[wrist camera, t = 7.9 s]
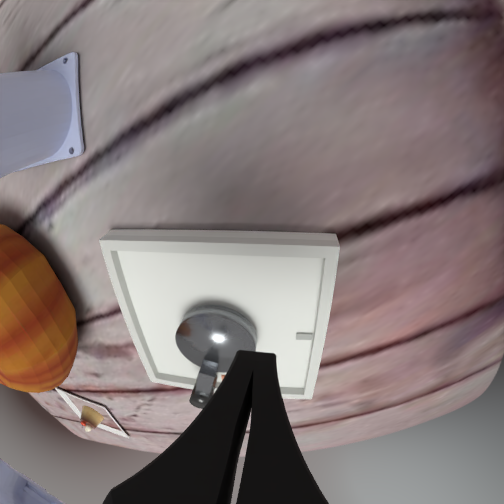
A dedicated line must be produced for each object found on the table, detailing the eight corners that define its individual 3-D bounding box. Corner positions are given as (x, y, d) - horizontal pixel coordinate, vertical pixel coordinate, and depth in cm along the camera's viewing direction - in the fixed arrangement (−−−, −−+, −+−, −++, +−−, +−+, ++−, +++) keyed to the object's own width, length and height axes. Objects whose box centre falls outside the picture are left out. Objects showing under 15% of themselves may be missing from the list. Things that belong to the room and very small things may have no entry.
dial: (184, 294, 20) (169, 324, 17) (267, 318, 20) (262, 351, 17) (176, 370, 24) (165, 397, 22) (237, 388, 25) (232, 416, 22)
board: (156, 368, 27) (151, 381, 26) (111, 229, 20) (98, 240, 18) (311, 384, 25) (311, 399, 24) (335, 233, 18) (339, 246, 16)
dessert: (56, 382, 38) (45, 401, 33) (107, 402, 36) (96, 425, 32) (84, 416, 43) (75, 433, 39) (132, 434, 42) (124, 454, 38)
